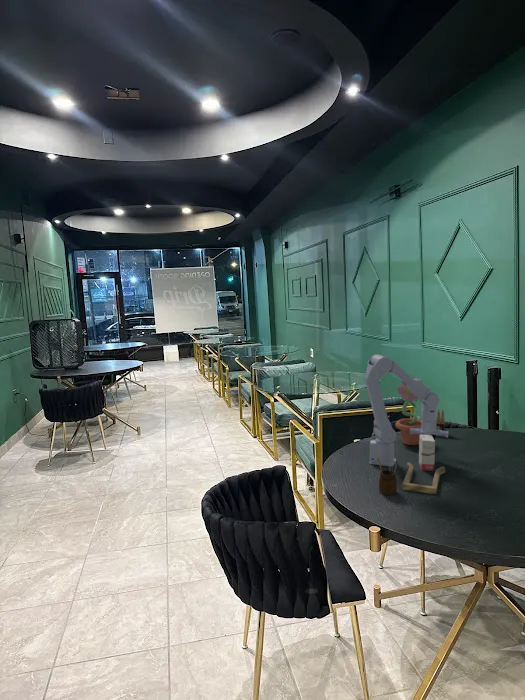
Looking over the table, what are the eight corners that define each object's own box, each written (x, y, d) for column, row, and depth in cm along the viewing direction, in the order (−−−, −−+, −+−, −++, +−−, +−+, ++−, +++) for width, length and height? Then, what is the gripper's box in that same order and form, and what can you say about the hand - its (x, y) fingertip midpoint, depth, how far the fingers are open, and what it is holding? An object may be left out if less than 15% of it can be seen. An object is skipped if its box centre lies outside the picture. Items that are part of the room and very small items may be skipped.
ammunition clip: (421, 433, 220) (420, 408, 218) (421, 431, 221) (421, 407, 220) (444, 434, 216) (444, 410, 214) (444, 433, 217) (444, 409, 216)
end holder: (398, 488, 159) (398, 483, 159) (407, 467, 178) (407, 462, 178) (440, 494, 153) (440, 489, 153) (445, 471, 172) (445, 466, 172)
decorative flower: (391, 446, 203) (390, 380, 199) (394, 436, 216) (394, 375, 212) (426, 449, 197) (426, 381, 194) (428, 439, 210) (428, 375, 206)
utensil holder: (396, 496, 154) (396, 462, 152) (377, 494, 156) (376, 460, 154) (397, 489, 159) (397, 456, 158) (379, 487, 161) (378, 454, 160)
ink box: (435, 471, 173) (435, 441, 172) (421, 470, 174) (421, 440, 173) (431, 462, 182) (431, 434, 180) (418, 462, 183) (418, 433, 181)
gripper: (448, 418, 184) (448, 450, 186) (411, 416, 191) (411, 447, 192) (447, 423, 178) (447, 456, 180) (409, 420, 184) (409, 452, 186)
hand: (428, 452), depth 185 cm, fingers closed
